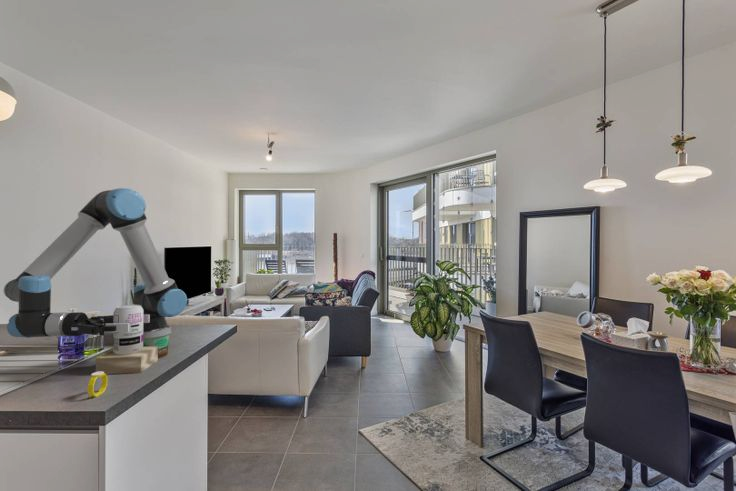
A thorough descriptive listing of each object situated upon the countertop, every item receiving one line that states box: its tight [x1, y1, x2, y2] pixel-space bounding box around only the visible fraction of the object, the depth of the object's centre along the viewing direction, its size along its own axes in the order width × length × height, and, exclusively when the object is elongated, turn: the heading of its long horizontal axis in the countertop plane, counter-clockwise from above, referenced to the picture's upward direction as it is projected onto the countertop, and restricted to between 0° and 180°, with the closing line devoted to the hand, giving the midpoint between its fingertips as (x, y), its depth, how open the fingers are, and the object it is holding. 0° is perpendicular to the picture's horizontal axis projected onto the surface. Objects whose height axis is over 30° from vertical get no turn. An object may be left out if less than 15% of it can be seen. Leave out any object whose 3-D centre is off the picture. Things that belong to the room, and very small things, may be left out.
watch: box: [87, 371, 109, 398], centre depth 96 cm, size 6×3×6 cm, turn 4°
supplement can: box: [112, 304, 143, 355], centre depth 117 cm, size 8×8×15 cm
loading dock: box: [95, 346, 159, 375], centre depth 117 cm, size 12×13×5 cm
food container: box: [143, 324, 172, 359], centre depth 129 cm, size 12×6×10 cm, turn 168°
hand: (139, 322), depth 118 cm, fingers open, 13 cm apart
